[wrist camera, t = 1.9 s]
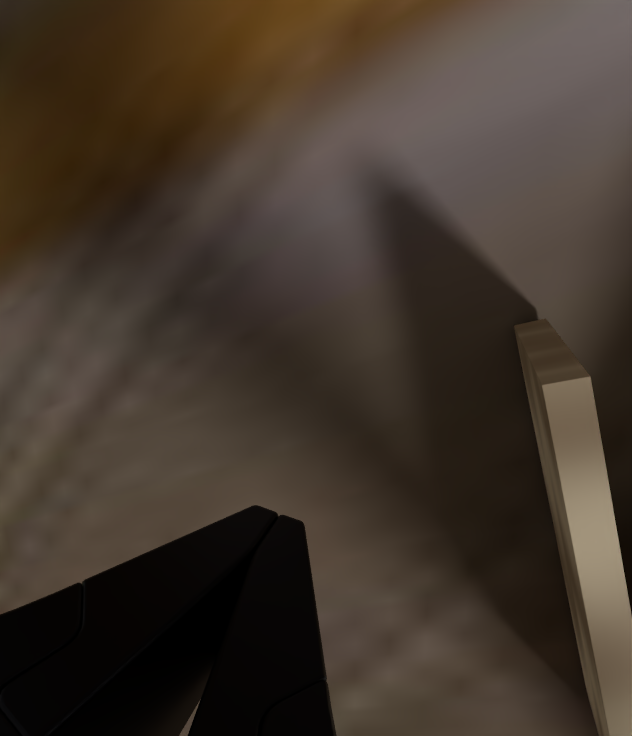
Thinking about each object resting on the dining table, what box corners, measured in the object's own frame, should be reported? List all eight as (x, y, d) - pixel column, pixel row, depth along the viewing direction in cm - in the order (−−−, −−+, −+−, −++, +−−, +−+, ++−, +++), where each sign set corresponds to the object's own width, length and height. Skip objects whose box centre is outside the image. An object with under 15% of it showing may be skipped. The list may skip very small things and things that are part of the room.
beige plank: (617, 705, 22) (680, 898, 16) (589, 705, 22) (640, 896, 16) (545, 318, 18) (590, 376, 12) (513, 325, 18) (542, 385, 13)
